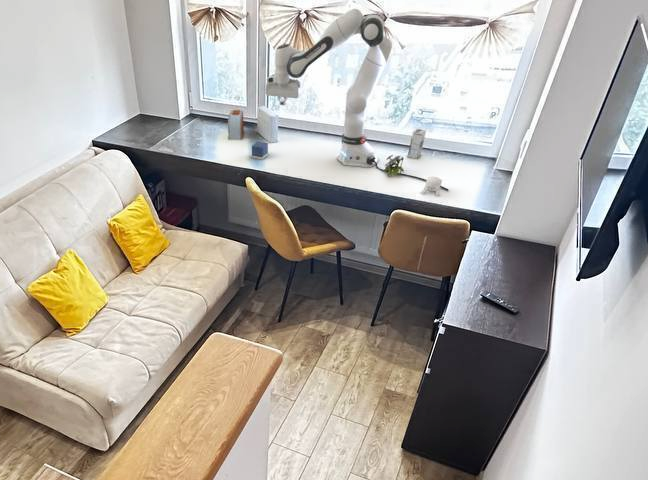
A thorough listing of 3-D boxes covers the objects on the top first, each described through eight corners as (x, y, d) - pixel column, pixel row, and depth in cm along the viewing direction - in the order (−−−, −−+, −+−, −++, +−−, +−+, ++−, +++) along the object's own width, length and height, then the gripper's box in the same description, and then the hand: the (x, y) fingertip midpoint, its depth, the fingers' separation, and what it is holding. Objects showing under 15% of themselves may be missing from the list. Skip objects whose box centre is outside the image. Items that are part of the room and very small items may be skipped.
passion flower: (386, 180, 302) (389, 158, 301) (405, 180, 297) (409, 157, 295) (380, 175, 293) (383, 152, 291) (400, 175, 287) (404, 152, 286)
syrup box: (411, 153, 314) (416, 128, 304) (421, 155, 311) (426, 130, 301) (407, 157, 311) (412, 131, 301) (417, 159, 308) (422, 133, 298)
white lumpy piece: (422, 192, 285) (420, 193, 272) (426, 175, 281) (424, 176, 269) (439, 194, 282) (437, 196, 269) (444, 177, 279) (442, 178, 266)
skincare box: (278, 141, 337) (278, 115, 326) (270, 143, 336) (270, 116, 325) (264, 130, 352) (264, 105, 341) (256, 132, 350) (256, 106, 339)
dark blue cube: (257, 141, 321) (257, 152, 326) (251, 145, 316) (251, 157, 321) (267, 143, 318) (267, 154, 323) (262, 147, 314) (262, 159, 318)
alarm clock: (231, 130, 354) (230, 109, 345) (244, 130, 353) (243, 109, 344) (228, 139, 344) (227, 117, 334) (241, 139, 342) (240, 117, 333)
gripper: (302, 78, 292) (302, 104, 301) (269, 75, 300) (269, 101, 309) (298, 81, 288) (297, 108, 297) (263, 78, 296) (264, 104, 306)
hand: (282, 104), depth 303 cm, fingers closed
